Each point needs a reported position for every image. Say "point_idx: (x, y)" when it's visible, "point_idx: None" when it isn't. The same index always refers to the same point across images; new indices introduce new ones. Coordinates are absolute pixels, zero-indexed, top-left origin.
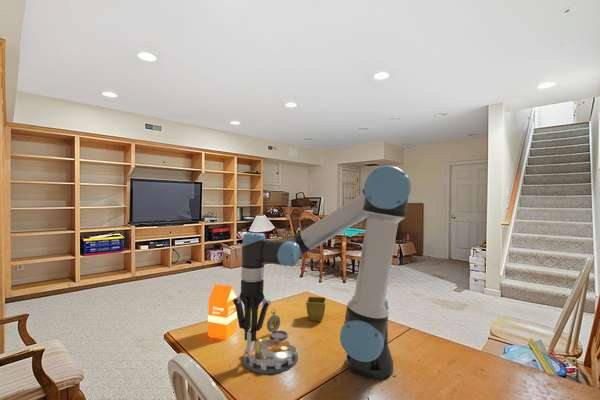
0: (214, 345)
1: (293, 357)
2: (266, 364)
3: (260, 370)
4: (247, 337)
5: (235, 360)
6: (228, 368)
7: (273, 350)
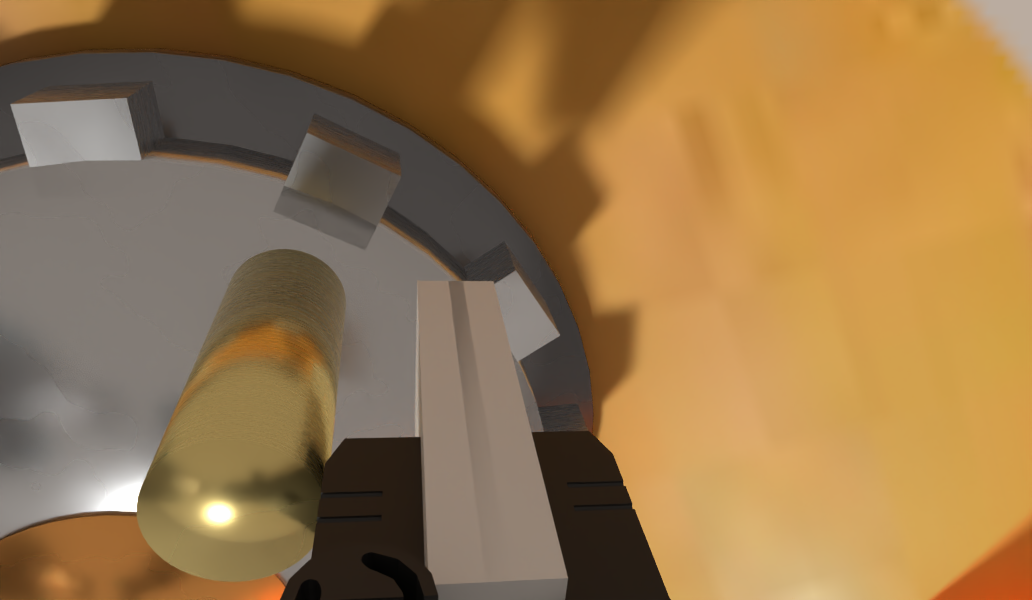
0: (1007, 501)
1: None
2: (25, 134)
3: (165, 86)
4: (524, 456)
5: (667, 285)
6: (702, 79)
7: (137, 536)
